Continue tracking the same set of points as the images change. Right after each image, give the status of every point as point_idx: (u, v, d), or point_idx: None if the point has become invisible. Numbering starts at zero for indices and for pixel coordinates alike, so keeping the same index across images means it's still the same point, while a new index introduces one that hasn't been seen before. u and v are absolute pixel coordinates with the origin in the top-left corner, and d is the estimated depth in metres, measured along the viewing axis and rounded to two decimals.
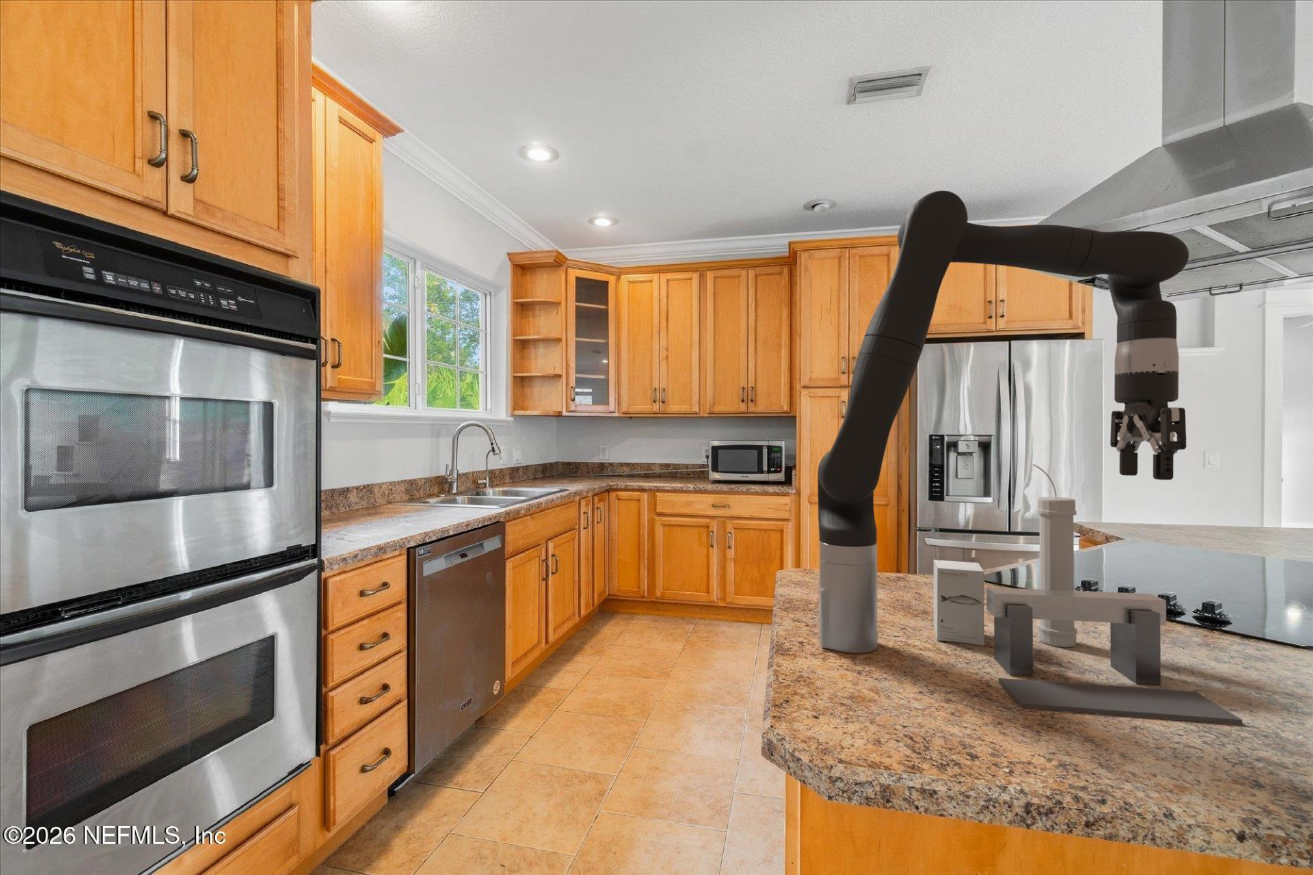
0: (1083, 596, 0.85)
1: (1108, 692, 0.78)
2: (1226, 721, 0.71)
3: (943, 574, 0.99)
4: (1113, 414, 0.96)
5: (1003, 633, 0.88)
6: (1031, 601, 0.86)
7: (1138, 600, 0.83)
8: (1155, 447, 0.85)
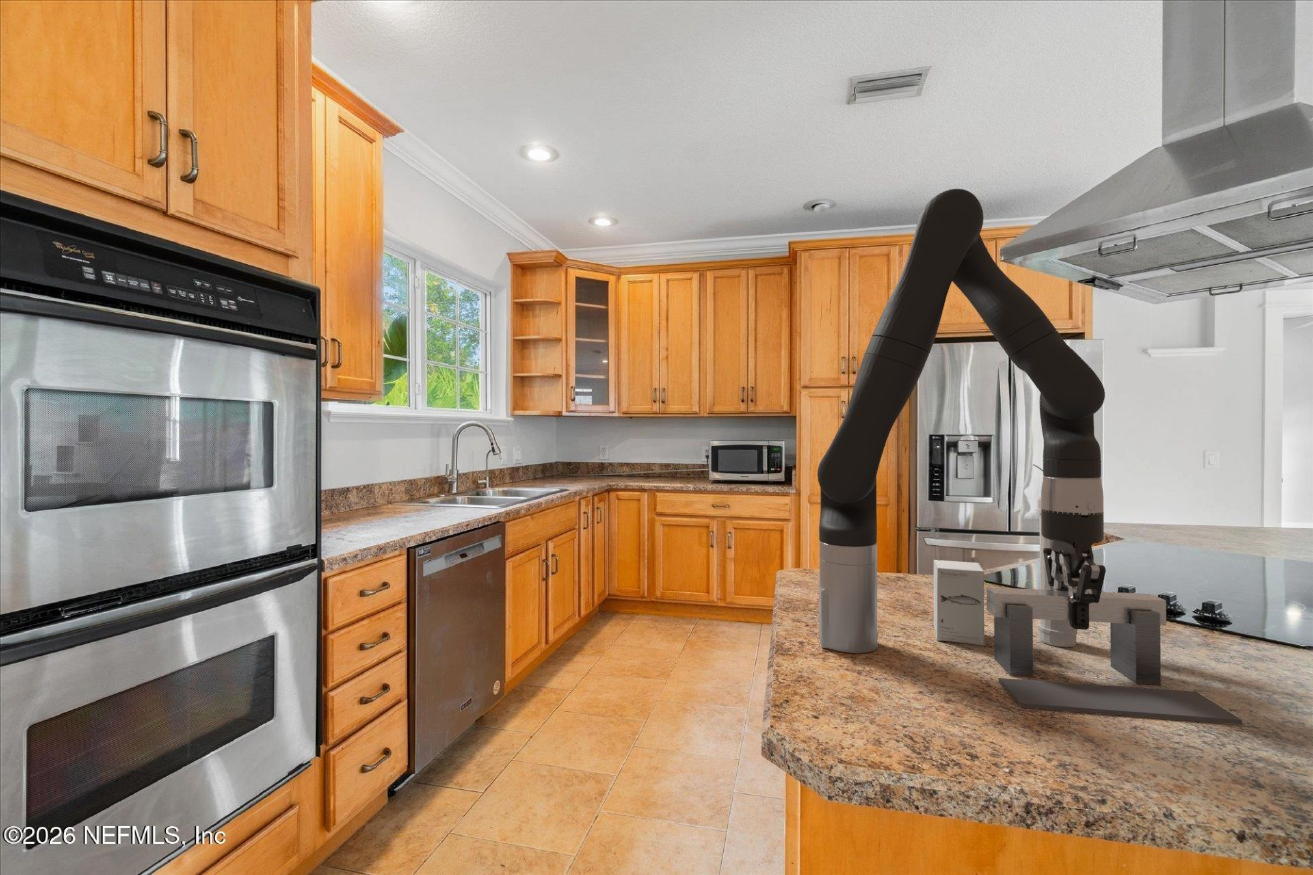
0: None
1: (1108, 692, 0.78)
2: (1226, 721, 0.71)
3: (943, 574, 0.99)
4: (1044, 551, 0.93)
5: (1003, 633, 0.88)
6: (1031, 601, 0.86)
7: (1138, 600, 0.83)
8: (1071, 596, 0.84)
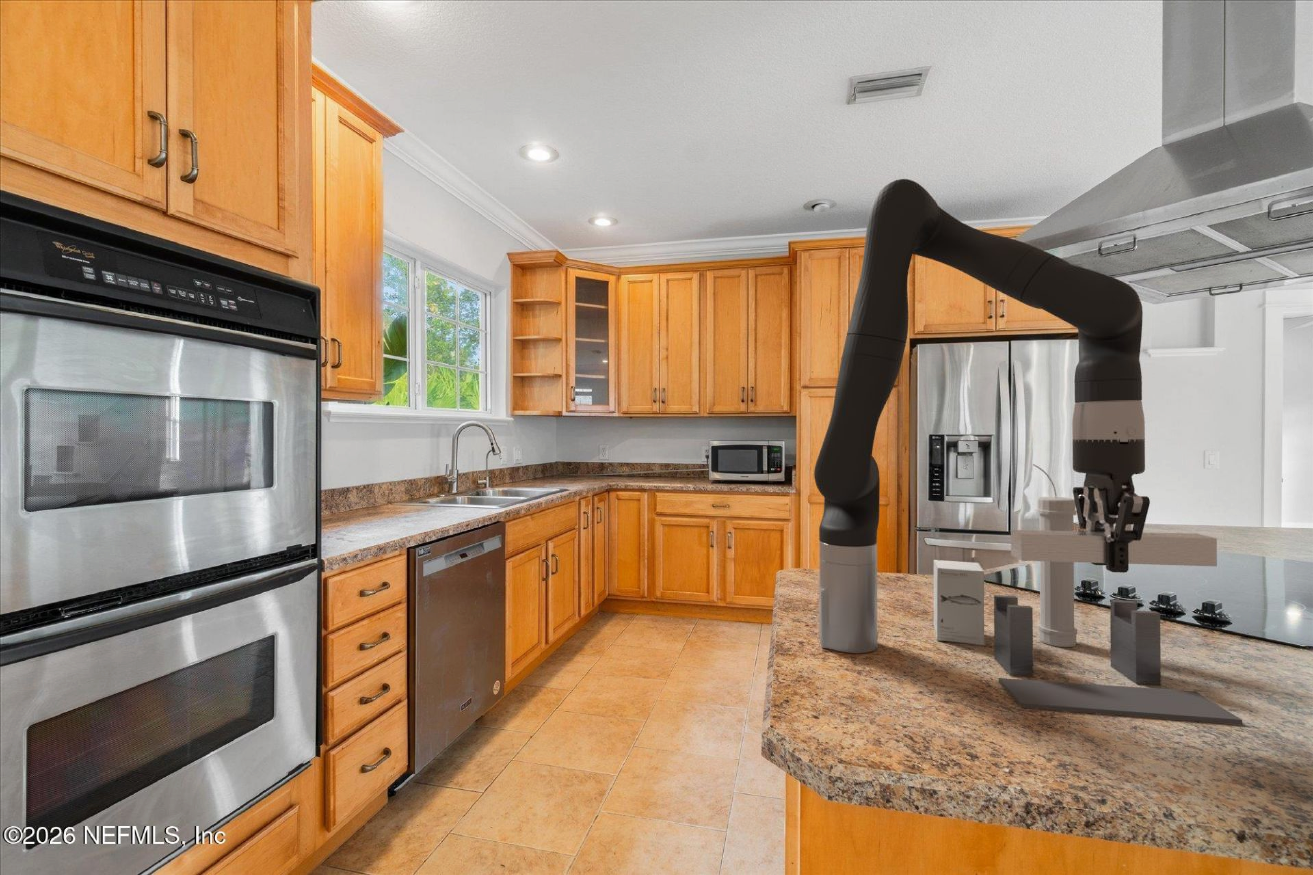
0: None
1: (1108, 692, 0.78)
2: (1226, 721, 0.71)
3: (943, 574, 0.99)
4: (1074, 490, 0.83)
5: (1003, 633, 0.88)
6: (1063, 542, 0.76)
7: (1184, 538, 0.74)
8: (1108, 535, 0.75)
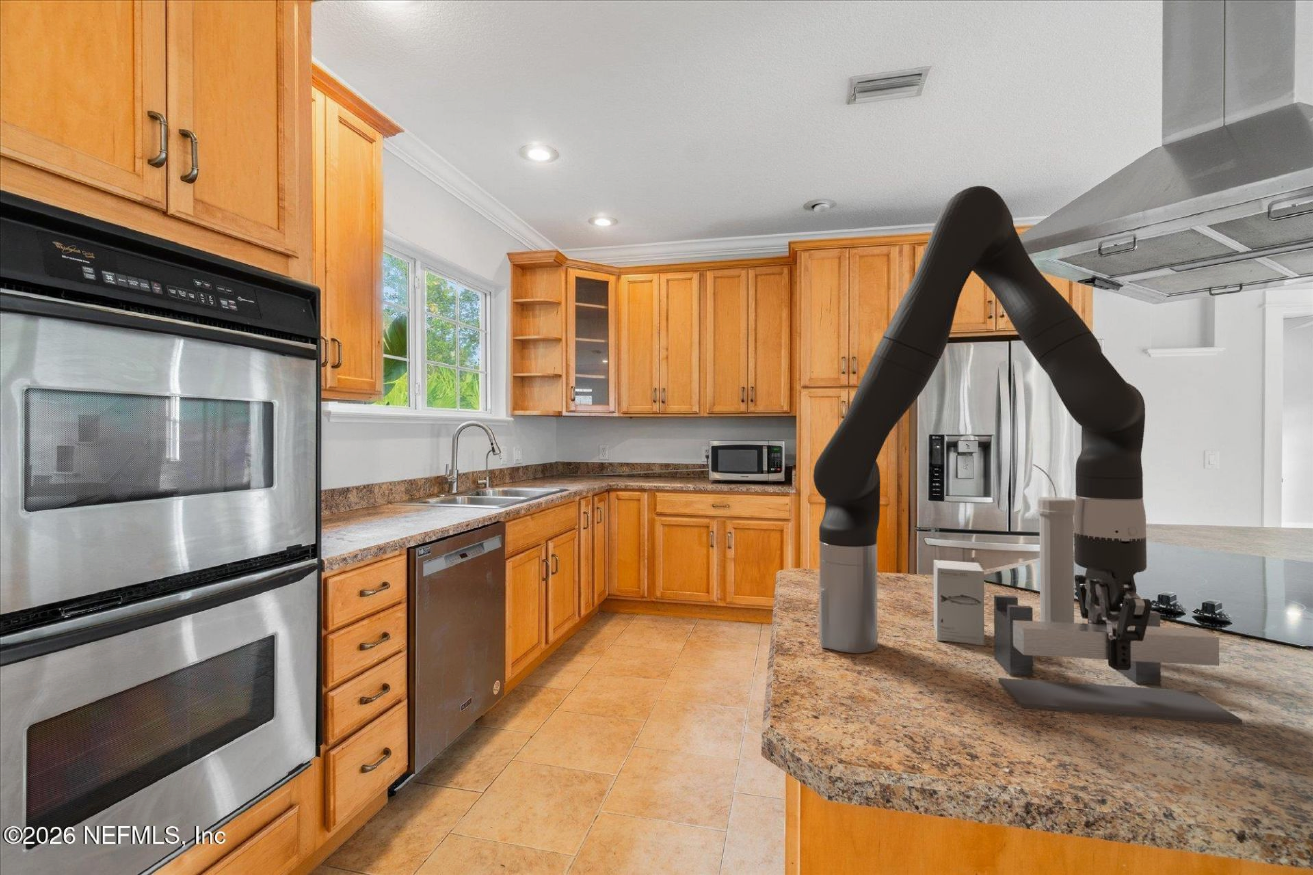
0: None
1: (1108, 692, 0.78)
2: (1226, 721, 0.71)
3: (943, 574, 0.99)
4: (1076, 578, 0.83)
5: (1003, 633, 0.88)
6: (1065, 638, 0.76)
7: (1187, 637, 0.74)
8: (1110, 633, 0.75)
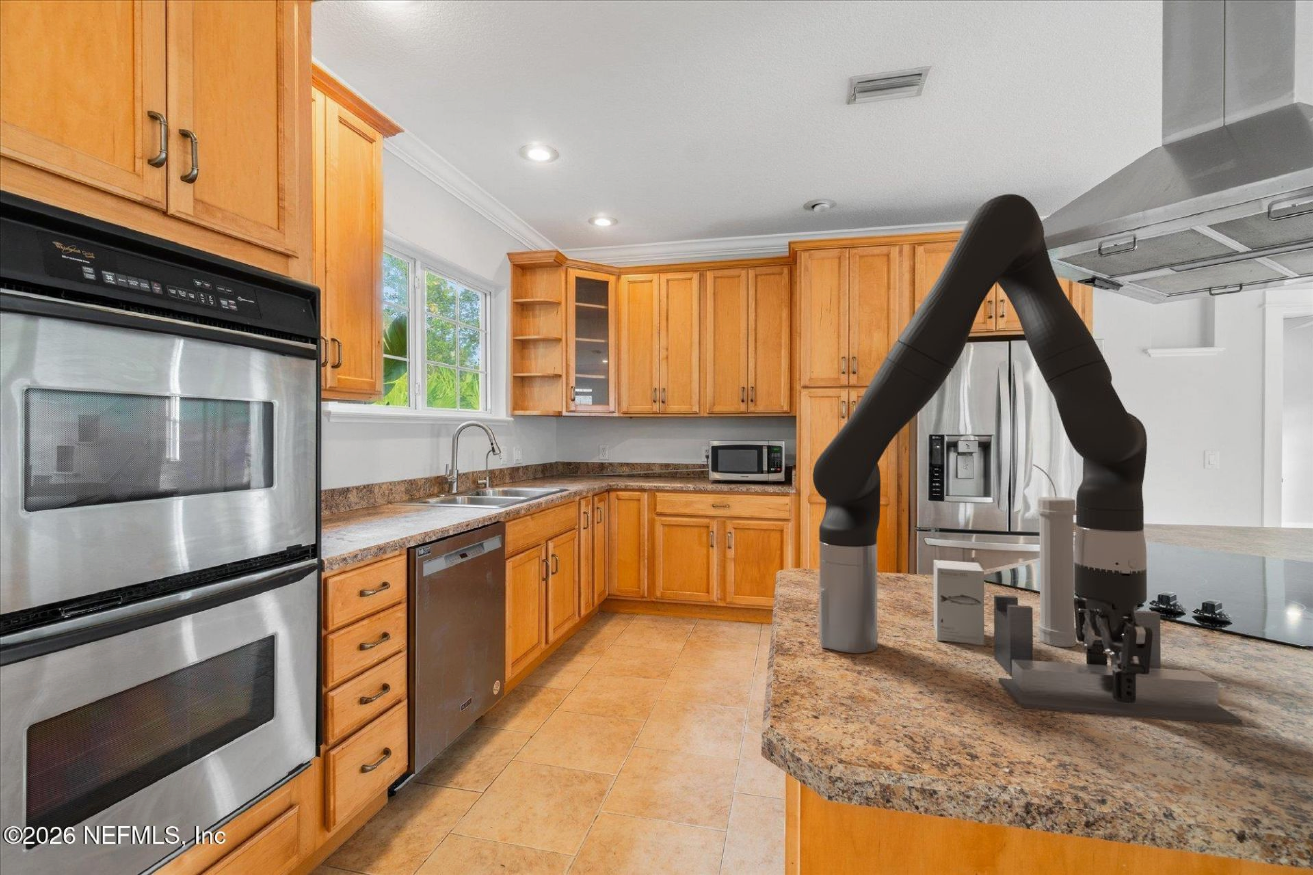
0: None
1: None
2: (1226, 721, 0.71)
3: (943, 574, 0.99)
4: (1075, 602, 0.83)
5: (1003, 633, 0.88)
6: (1064, 679, 0.76)
7: (1186, 681, 0.74)
8: (1115, 664, 0.73)
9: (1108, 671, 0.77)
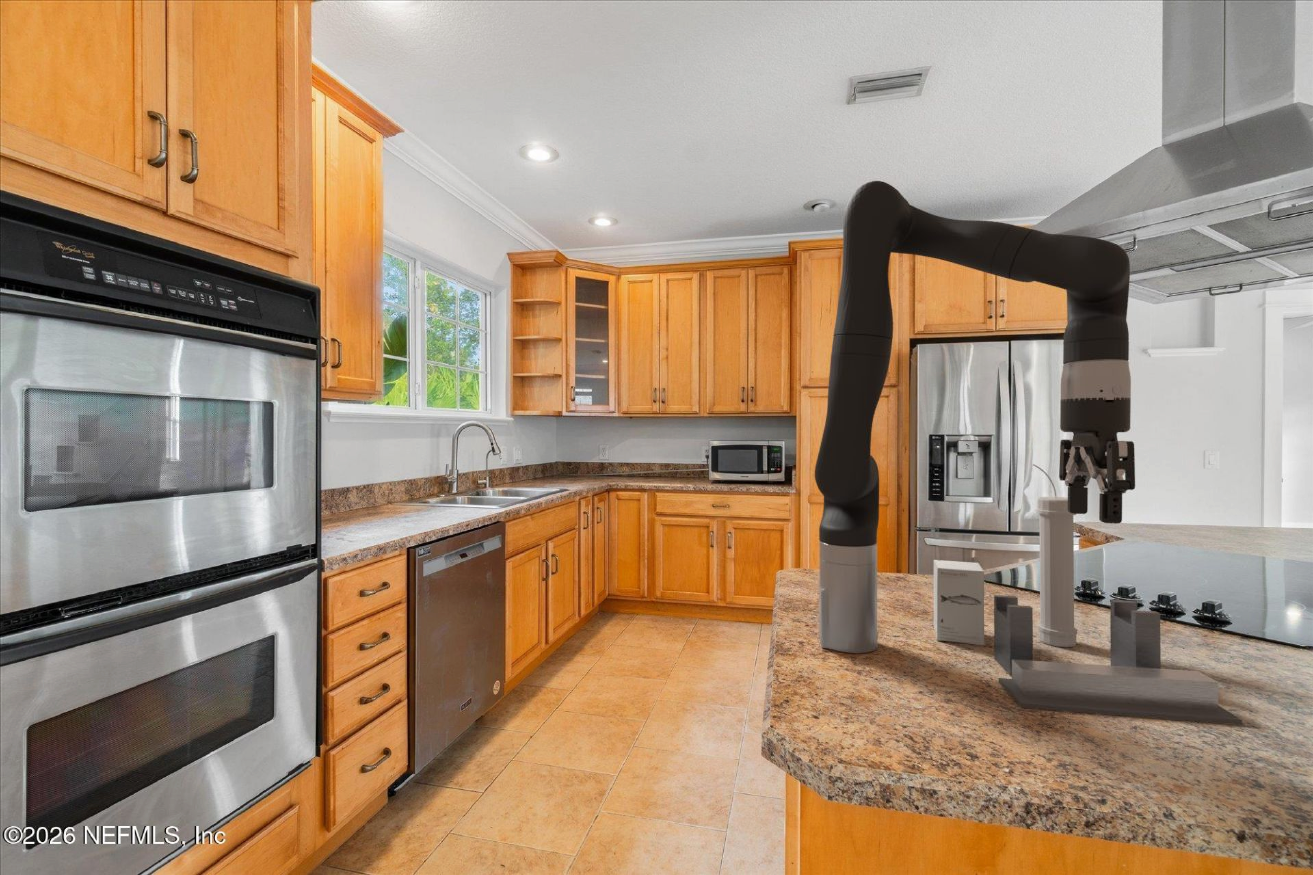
0: (1123, 674, 0.75)
1: None
2: (1226, 721, 0.71)
3: (943, 574, 0.99)
4: (1062, 443, 0.85)
5: (1003, 633, 0.88)
6: (1064, 679, 0.76)
7: (1186, 681, 0.74)
8: (1101, 486, 0.74)
9: (1108, 671, 0.77)
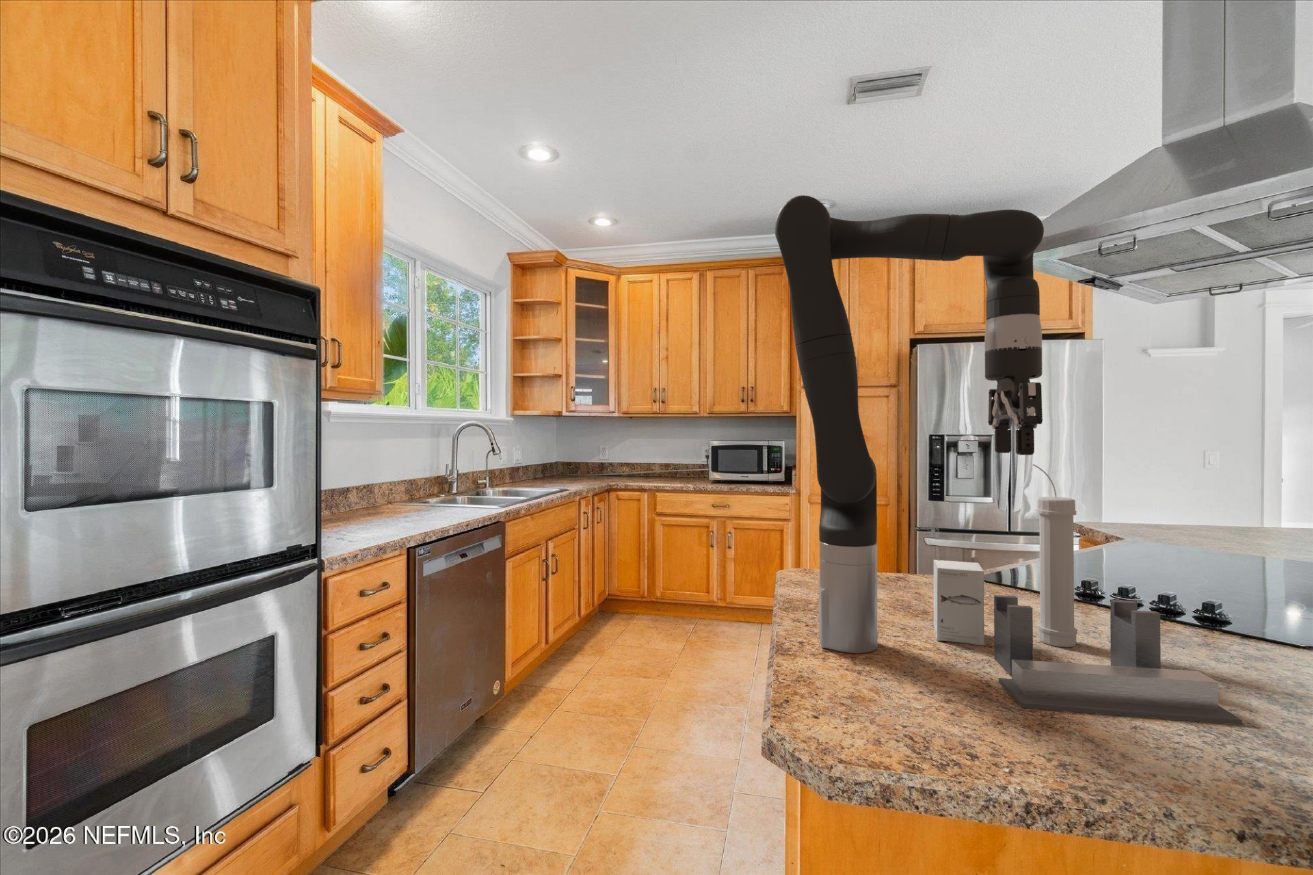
0: (1123, 674, 0.75)
1: None
2: (1226, 721, 0.71)
3: (943, 574, 0.99)
4: (989, 392, 0.96)
5: (1003, 633, 0.88)
6: (1064, 679, 0.76)
7: (1186, 681, 0.74)
8: (1016, 422, 0.86)
9: (1108, 671, 0.77)
